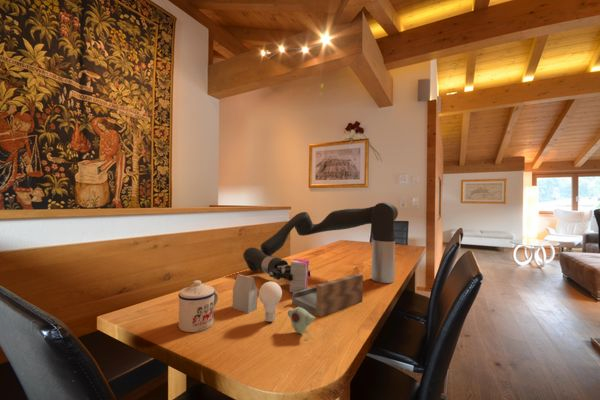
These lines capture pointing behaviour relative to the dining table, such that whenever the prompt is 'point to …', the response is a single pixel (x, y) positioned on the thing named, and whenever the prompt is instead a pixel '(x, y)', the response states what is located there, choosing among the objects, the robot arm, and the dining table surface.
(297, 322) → the pale green triangular piece
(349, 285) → the cleat board
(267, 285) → the lightbulb
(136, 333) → the dining table surface
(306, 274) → the supplement box
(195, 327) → the teacup with lid
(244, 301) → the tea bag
